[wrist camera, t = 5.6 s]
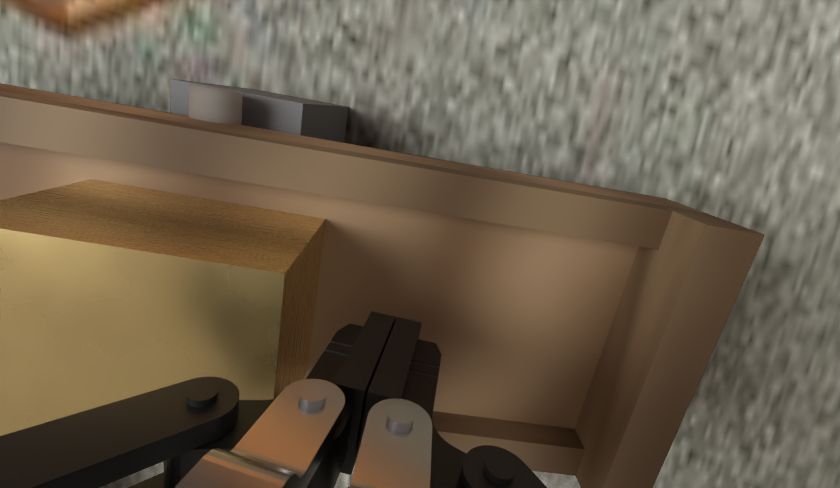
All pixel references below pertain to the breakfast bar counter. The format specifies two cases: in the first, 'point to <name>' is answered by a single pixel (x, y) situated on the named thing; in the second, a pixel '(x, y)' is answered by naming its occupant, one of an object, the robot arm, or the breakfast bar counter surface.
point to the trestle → (275, 111)
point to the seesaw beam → (448, 268)
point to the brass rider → (148, 297)
